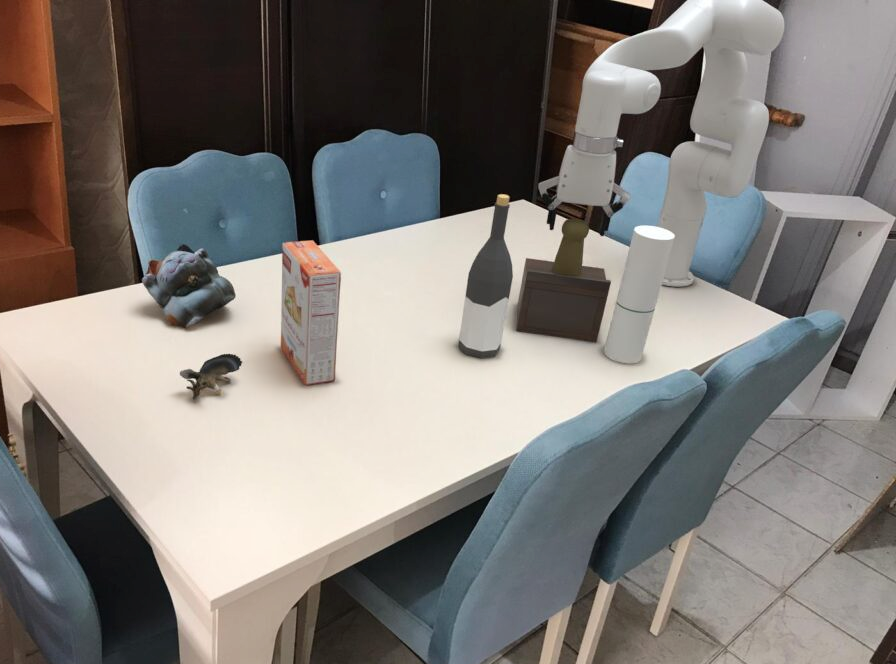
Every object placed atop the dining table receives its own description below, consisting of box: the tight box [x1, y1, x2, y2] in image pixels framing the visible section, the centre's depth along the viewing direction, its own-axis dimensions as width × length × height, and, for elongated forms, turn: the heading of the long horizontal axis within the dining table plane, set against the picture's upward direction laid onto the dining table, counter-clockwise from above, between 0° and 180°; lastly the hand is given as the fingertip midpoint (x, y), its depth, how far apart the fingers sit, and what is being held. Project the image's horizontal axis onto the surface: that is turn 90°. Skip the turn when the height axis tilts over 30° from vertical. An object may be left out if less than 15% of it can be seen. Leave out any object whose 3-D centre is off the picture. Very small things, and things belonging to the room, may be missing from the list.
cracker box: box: [280, 239, 342, 386], centre depth 144 cm, size 14×6×21 cm, turn 23°
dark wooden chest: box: [515, 257, 612, 343], centre depth 170 cm, size 12×16×13 cm
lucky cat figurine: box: [141, 243, 237, 329], centre depth 161 cm, size 15×12×14 cm
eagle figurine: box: [179, 353, 243, 401], centre depth 138 cm, size 8×7×9 cm
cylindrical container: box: [603, 224, 675, 365], centre depth 157 cm, size 7×7×25 cm
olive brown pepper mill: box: [551, 218, 590, 276], centre depth 165 cm, size 6×6×11 cm
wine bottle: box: [458, 193, 514, 359], centre depth 153 cm, size 8×8×30 cm
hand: (576, 230), depth 164 cm, fingers open, 9 cm apart
